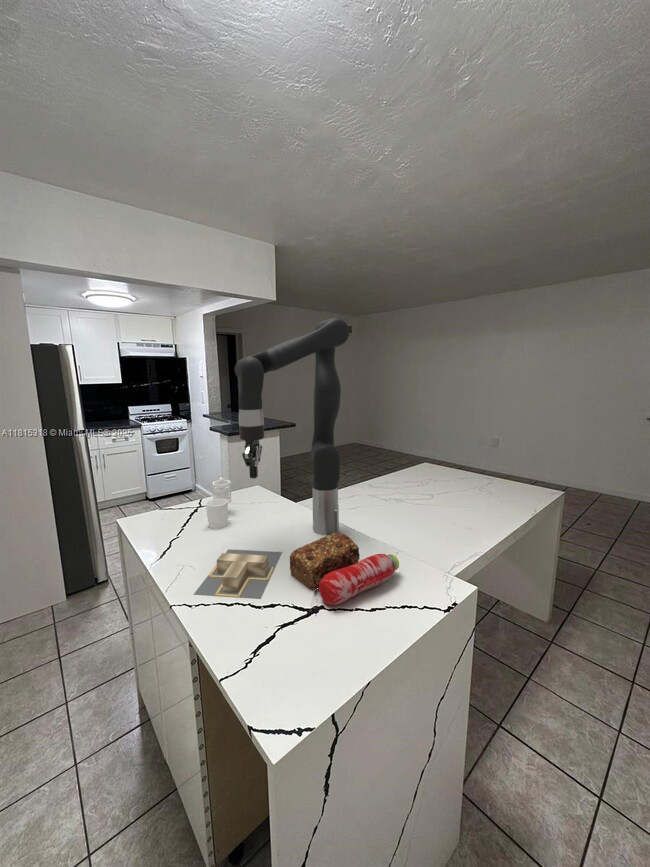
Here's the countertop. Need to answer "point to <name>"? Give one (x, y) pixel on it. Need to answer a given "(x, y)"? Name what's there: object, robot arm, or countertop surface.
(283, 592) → the countertop surface
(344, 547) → the bread
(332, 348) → the robot arm
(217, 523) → the white cup
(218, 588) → the board
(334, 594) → the water bottle
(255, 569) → the t block
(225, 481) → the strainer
